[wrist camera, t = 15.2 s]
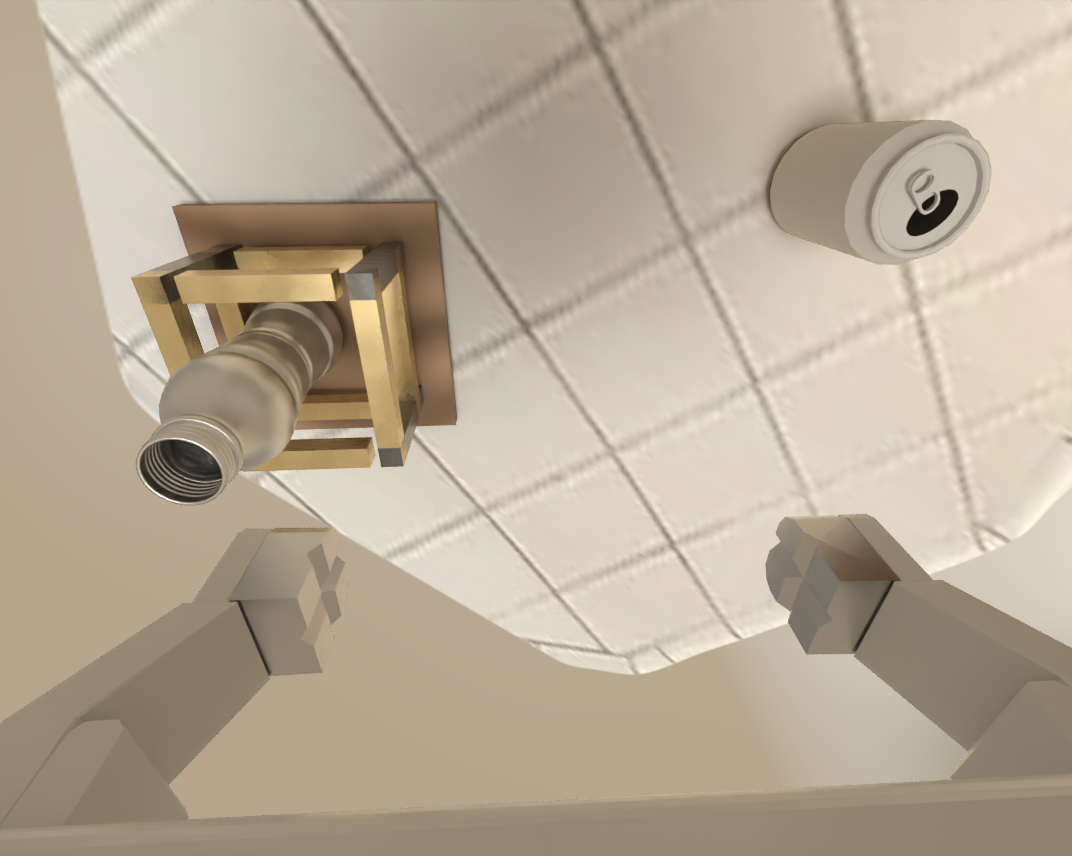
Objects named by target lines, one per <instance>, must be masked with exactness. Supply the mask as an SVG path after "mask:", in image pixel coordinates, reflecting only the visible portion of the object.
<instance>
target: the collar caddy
mask: <svg viewBox="0 0 1072 856" xmlns="http://www.w3.org/2000/svg"><path fill="white" fill-rule="evenodd" d="M405 263H406V258H405V250H404V243H403V241H390V242H381V243H380V244H379V245H378V246H377V247H376V248H374V249H373V250H372V251H371V252H370V253H368V248H367V246H304V247H243V245H242V244H219V245H216V246H214V247H211V248H208V249H206V250H203V251H200V252H198V253H195V254H192V255H190V256H187V257H184V258H182V259H179V260H176V261H174V262H171V263H168V264H166V265H163V266H160V267H158V268H155V269H152V270H150V271H147V272H144V273H141V274H139V275H136V276H133V277H131V279H132V281H133V284H134V286H135V288H136V291H137V293H138V296H139V298H140V301H141V303H142V306H143V308H144V311H145V313H146V316H147V318H148V321H149V323H150V326H151V328H152V331H153V333H154V336H155V338H156V341H157V343H158V346H159V348H160V351H161V353H162V356H163V358H164V361H165V363H166V366H167V368H168V371H169V373H170V376H171V375H172V374H173V373H174V372H175V371H176V370H177V369H178V368H179V367H181V366H183V365H184V364H186V363H187V362H189V361H191V360H192V359H194V358H196V357H197V356H200V355H202V354H204V351H203V348H202V345H201V343H200V340H199V337H198V334H197V331H196V329H195V326H194V323H193V320H192V317H191V315H190V312H189V309H188V306H187V304H195V303H215V304H216V307H217V310H218V313H219V316H220V319H221V322H222V325H223V328H224V331H225V334H226V337H227V341H230V340H232V339H233V338H234V337H236V336H237V335H238V334H239V333H240V331H241V330H242V329H243V328H244V327H245V325H246V322H247V320H248V319H249V317H250V315H251V314H252V313H251V310H250V306H249V303H248V302H301V301H337V300H338V299H339V298H340V297H341V296H342V295H343V294H344V293H343V288H342V283H341V278H340V273H345V279H346V285H347V290H348V295H349V300H350V305H351V311H352V316H353V321H354V326H355V332H356V337H357V342H358V347H359V352H360V358H361V363H362V368H363V373H364V379H365V384H366V389H367V394H340V395H306V397H305V399H304V401H303V403H302V406H301V409H300V413H299V416H298V420H297V421H307V420H341V419H372V420H373V426H374V431H375V436H376V441H377V446H378V452H379V457H380V462H381V467H397V466H404V463H405V460H406V457H407V453H408V450H409V447H410V444H411V441H412V437H413V434H414V431H415V428H416V425H417V421H418V418H419V415H420V412H421V408H422V405H423V402H424V397H423V389H422V385H418V379H417V372H416V364H415V357H414V349H413V342H412V334H411V327H410V319H409V312H408V304H407V297H406V289H405V282H404V275H403V266H404V264H405ZM374 457H375V451H374V446H373V441H372V437H366V438H333V439H300V440H290V441H289V443H288V444H287V445H286V447H285V448H284V449H283V450H282V451H281V452H280V453H279V454H278V455H277V456H275V457H274V458H272V459H271V460H269V461H268V462H266V463H264V464H262V465H260V466H258V467H255V468H252V469H249V470H243V472H245V471H275V470H305V469H336V468H366V467H371V465H372V462H373V460H374Z"/></svg>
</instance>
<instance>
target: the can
mask: <svg viewBox="0 0 1072 856" xmlns="http://www.w3.org/2000/svg"><path fill="white" fill-rule="evenodd" d="M990 178H991V167H990V161H989V156H988V153H987V152H986V151H985V149H984V148H983V146H982V145H981V144H980V142H979V141H977V140H975V139H974V138H973V137H972V136H971V134H970V133H969V131H968V130H967V129H965V128H963V127H961V126H959V125H957V124H956V123H954V122H952V121H942V120H919V121H894V122H869V123H845V124H829V125H826V126H823V127H819V128H816V129H813V130H812V131H810V132H809V133H807V134H806V135H804V136H803V137H801V138H800V139H798V140H797V141H796V142H795V143H794V144H793V145H792V147H791V148H790V149H789V150H788V151H787V152H786V153H785V155H784V156H783V157H782V159H781V161H780V163H779V165H778V167H777V169H776V171H775V173H774V176H773V181H772V185H771V189H770V201H771V210H772V212H773V215H774V217H775V220H776V222H777V223H778V224H779V225H780V226H781V227H782V228H783V229H784V230H785V231H786V232H787V233H790V234H792V235H794V236H797V237H799V238H802V239H805V240H808V241H811V242H814V243H817V244H820V245H823V246H826V247H829V248H832V249H835V250H837V251H840V252H843V253H846V254H849V255H852V256H855V257H858V258H861V259H864V260H867V261H870V262H873V263H876V264H888V265H897V264H900V263H904V262H907V261H911V260H914V259H918V258H921V257H924V256H928V255H931V254H934V253H936V252H938V251H939V250H941V249H943V248H944V247H946V246H948V245H949V244H951V243H952V242H953V241H954V240H956V239H957V238H958V237H959V236H960V235H961V234H962V233H963V232H964V231H965V230H966V229H967V228H968V227H969V226H970V224H971V223H972V221H973V220H974V219H975V217H976V216H977V214H978V213H979V212H980V210H981V208H982V205H983V203H984V201H985V198H986V196H987V194H988V191H989V185H990Z"/></svg>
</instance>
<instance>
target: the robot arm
mask: <svg viewBox="0 0 1072 856" xmlns="http://www.w3.org/2000/svg"><path fill="white" fill-rule="evenodd" d="M776 535H777V536H778V538H779V540H780V543H779V544H777V545H776V546H775V547H774V548H773V549H771V550H770V551H769V554H768V558H767V561H766V579H767V582H768V585H769V588H770V591H771V593H772V594H773V596H774V598H775V600H776V602H778V603H779V604H781V605H782V606H784V607H785V608H786V609H788V610H789V611H790V615H789V619H788V623H789V625H790V627H791V628H792V630H793V632H794V633H795V635H796V637H797V639H798V640H799V642H800V644H801V646H802V647H803V649H804V651H805V653H806V654H855V655H854V657H855V658H856V659H858V660H859V661H860V662H861V663H863V664H864V665H865V666H866V667H867V668H868V669H870V670H871V671H872V672H873V673H875V674H876V675H877V676H878V677H879V678H881V679H882V680H883V681H884V682H886V683H887V684H888V685H889V686H890V687H892V688H893V689H894V690H895V691H896V692H897V693H899V694H900V695H901V696H902V697H903V698H905V699H906V700H907V701H908V702H909V703H911V704H912V705H913V706H914V707H915V708H917V709H918V710H919V711H920V712H921V713H923V714H924V715H925V716H926V717H927V718H929V719H930V720H931V721H932V722H933V723H935V724H936V725H937V726H938V727H939V728H941V729H942V730H943V731H944V732H945V733H947V734H948V735H949V736H950V737H952V738H953V739H954V740H955V741H956V742H957V743H959V744H960V745H961V746H962V747H963V748H965V749H966V750H967V751H968V752H967V753H966V754H965V755H964V756H963V757H962V759H961V760H960V761H959V762H958V763H957V764H956V766H955V767H954V768H953V771H952V774H951V779H952V780H941V781H921V782H902V783H883V784H863V785H843V786H823V787H803V788H784V789H766V790H765V789H764V790H744V791H725V792H705V793H686V794H666V795H646V796H628V797H610V798H591V799H590V798H589V799H570V800H553V801H552V800H551V801H533V802H532V801H531V802H514V803H495V804H494V803H493V804H474V805H456V806H455V805H454V806H435V807H417V808H399V809H398V808H397V809H378V810H359V811H340V812H320V813H302V814H282V815H262V816H243V817H224V818H205V819H188V818H189V816H188V813H187V811H186V808H185V807H184V805H183V804H182V803H181V801H180V800H179V799H178V797H177V796H176V795H175V793H174V792H173V791H172V789H171V788H170V787H169V784H170V783H171V782H172V781H173V780H174V779H175V778H176V777H177V775H178V774H179V773H180V772H181V771H182V770H183V769H184V768H185V767H186V766H187V765H188V764H189V763H190V762H191V761H192V760H193V759H194V758H195V757H196V756H197V755H198V753H200V752H201V750H202V749H203V748H204V747H205V746H206V745H207V744H208V743H209V742H210V741H211V740H212V739H213V738H214V737H215V736H216V735H217V734H218V733H219V732H220V731H221V730H222V729H223V728H224V727H225V725H226V724H227V723H228V722H229V721H230V720H231V719H232V718H233V717H234V716H235V715H236V714H237V713H238V712H239V711H240V710H241V709H242V708H243V707H244V705H246V704H247V703H248V702H249V701H250V699H251V698H252V697H253V696H254V695H255V694H256V693H257V692H258V691H259V690H260V689H261V688H262V687H263V686H264V685H265V684H266V683H267V682H268V681H269V679H270V677H269V676H278V675H294V674H309V673H322V672H323V669H324V666H325V663H326V660H327V657H328V655H329V652H330V649H331V646H332V643H333V640H334V635H333V631H332V628H331V624H333V623H334V622H335V621H336V620H337V619H338V618H339V617H340V616H341V615H342V613H343V610H344V606H345V603H346V598H347V590H348V574H347V569H346V564H345V562H344V561H342V560H341V559H340V558H339V557H338V556H336V554H337V552H338V549H339V547H340V541H339V538H338V535H337V531H336V530H334V529H332V528H275V529H245V530H243V531H241V532H240V533H238V534H237V536H236V537H235V539H234V540H233V542H232V543H231V545H230V546H229V548H228V549H227V551H226V552H225V554H224V555H223V557H222V558H221V560H220V561H219V563H218V564H217V566H216V567H215V569H214V570H213V572H212V573H211V575H210V576H209V578H208V579H207V581H206V582H205V584H204V586H203V587H202V588H201V590H200V591H199V593H198V595H197V596H196V598H195V599H194V601H193V602H192V603H183V604H181V605H179V606H178V607H176V608H174V609H173V610H172V611H170V612H168V613H167V614H165V615H164V616H162V617H161V618H159V619H158V620H156V621H155V622H153V623H152V624H150V625H149V626H147V627H145V628H144V629H143V630H141V631H140V632H138V633H136V634H135V635H133V636H132V637H130V638H129V639H127V640H126V641H124V642H123V643H121V644H120V645H118V646H117V647H115V648H114V649H112V650H110V651H109V652H107V653H106V654H104V655H103V656H101V657H100V658H98V659H97V660H95V661H94V662H92V663H91V664H89V665H88V666H86V667H84V668H83V669H81V670H80V671H78V672H77V673H75V674H74V675H72V676H71V677H69V678H68V679H66V680H65V681H63V682H62V683H60V684H58V685H57V686H55V687H54V688H52V689H51V690H49V691H48V692H46V693H45V694H43V695H42V696H40V697H39V698H37V699H36V700H34V701H33V702H31V703H30V704H28V705H26V706H25V707H24V708H22V709H21V710H19V711H17V712H16V713H14V714H13V715H11V716H10V717H8V718H7V719H5V720H4V721H2V722H1V724H0V856H1072V648H1070V647H1069V646H1067V645H1065V644H1063V643H1061V642H1059V641H1057V640H1055V639H1053V638H1052V637H1050V636H1048V635H1046V634H1044V633H1042V632H1040V631H1038V630H1036V629H1034V628H1032V627H1031V626H1028V625H1027V624H1025V623H1023V622H1021V621H1019V620H1017V619H1015V618H1013V617H1011V616H1009V615H1008V614H1006V613H1004V612H1002V611H1000V610H998V609H996V608H994V607H992V606H990V605H989V604H987V603H985V602H983V601H981V600H979V599H977V598H975V597H973V596H971V595H969V594H968V593H966V592H964V591H962V590H960V589H958V588H956V587H954V586H952V585H950V584H949V583H947V582H944V581H943V580H932V578H931V577H930V576H929V575H928V574H927V573H926V572H925V571H924V570H923V569H922V568H921V567H920V566H919V565H918V563H917V562H916V561H915V560H914V559H913V558H912V557H911V556H910V555H909V554H908V553H907V552H906V551H905V550H904V549H903V548H902V547H901V545H900V544H899V543H898V542H897V541H896V540H895V539H894V538H893V537H892V536H891V535H890V534H889V533H888V532H887V531H886V530H885V529H884V527H883V526H882V525H881V524H880V523H879V522H878V521H877V520H876V519H875V518H873V517H871V516H869V515H867V514H852V515H838V516H804V517H785V518H784V519H783V520H782V521H781V522H780V523H779V526H778V528H777V531H776Z"/></svg>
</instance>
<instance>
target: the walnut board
mask: <svg viewBox="0 0 1072 856" xmlns="http://www.w3.org/2000/svg"><path fill="white" fill-rule="evenodd" d="M172 208H173V211H174V214H175V217H176V220H177V223H178V225H179V228H180V231H181V234H182V237H183V240H184V243H185V246H186V249H187V252H188V255H189V256H190V255H192V254H195V253H198V252H200V251H203V250H206V249H208V248H211V247H214V246H216V245H219V244H242V245H243V247H304V246H367V248H368V253H370V252H371V251H372V250H373V249H374V248H376V247H377V246H378V245H379V244H380V243H381V242H390V241H403V243H404V250H405V258H406V263H405V264H404V266H403V275H404V282H405V289H406V297H407V304H408V312H409V319H410V327H411V334H412V342H413V349H414V357H415V364H416V372H417V379H418V385H422V389H423V397H424V402H423V405H422V408H421V412H420V415H419V418H418V421H417V425H416V426H435V425H456V420H457V414H456V404H455V393H454V383H453V372H452V362H451V352H450V341H449V331H448V320H447V310H446V299H445V289H444V278H443V268H442V257H441V247H440V236H439V226H438V215H437V205H436V202H367V203H275V204H182V205H177V206H172ZM340 278H341V283H342V288H343V293H344V294H343V295H342V296H341V297H340V298H339V299H338V300H337V301H323V302H325V303H326V304H327V305H328V306H329V307H330V308H331V309H332V310H333V312H334V313H335V314H336V316H337V318H338V320H339V322H340V324H341V328H342V334H343V341H342V349H341V354H340V356H339V359H338V361H337V363H336V364H335V365H334V367H333V368H332V369H331V370H330V371H329V372H327V373H326V374H325V375H324V376H323V377H322V378H320V379H319V380H317V381H316V382H315V383H314V384H313V386H312V387H311V388H310V389H309V391H308V393H307V394H306V395H340V394H367V389H366V384H365V379H364V373H363V368H362V363H361V358H360V352H359V347H358V342H357V337H356V332H355V326H354V321H353V316H352V311H351V305H350V300H349V295H348V290H347V285H346V279H345V273H340ZM248 303H249V306H250V310H251V313H252V312H253V311H254V309H255V308H256V307H257V306H258V305H259V304H260V303H261V302H248ZM205 306H206V308H207V311H208V314H209V317H210V320H211V323H212V326H213V329H214V332H215V335H216V338H217V341H218V344H219V347H220V346H223V345H224V344H225V343H227V342H228V341H227V337H226V334H225V331H224V328H223V325H222V322H221V319H220V316H219V313H218V310H217V307H216V304H215V303H205ZM367 427H374V426H373V420H372V419H341V420H307V421H297V423H296V427H295V429H294V430H300V429H334V428H367Z"/></svg>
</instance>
